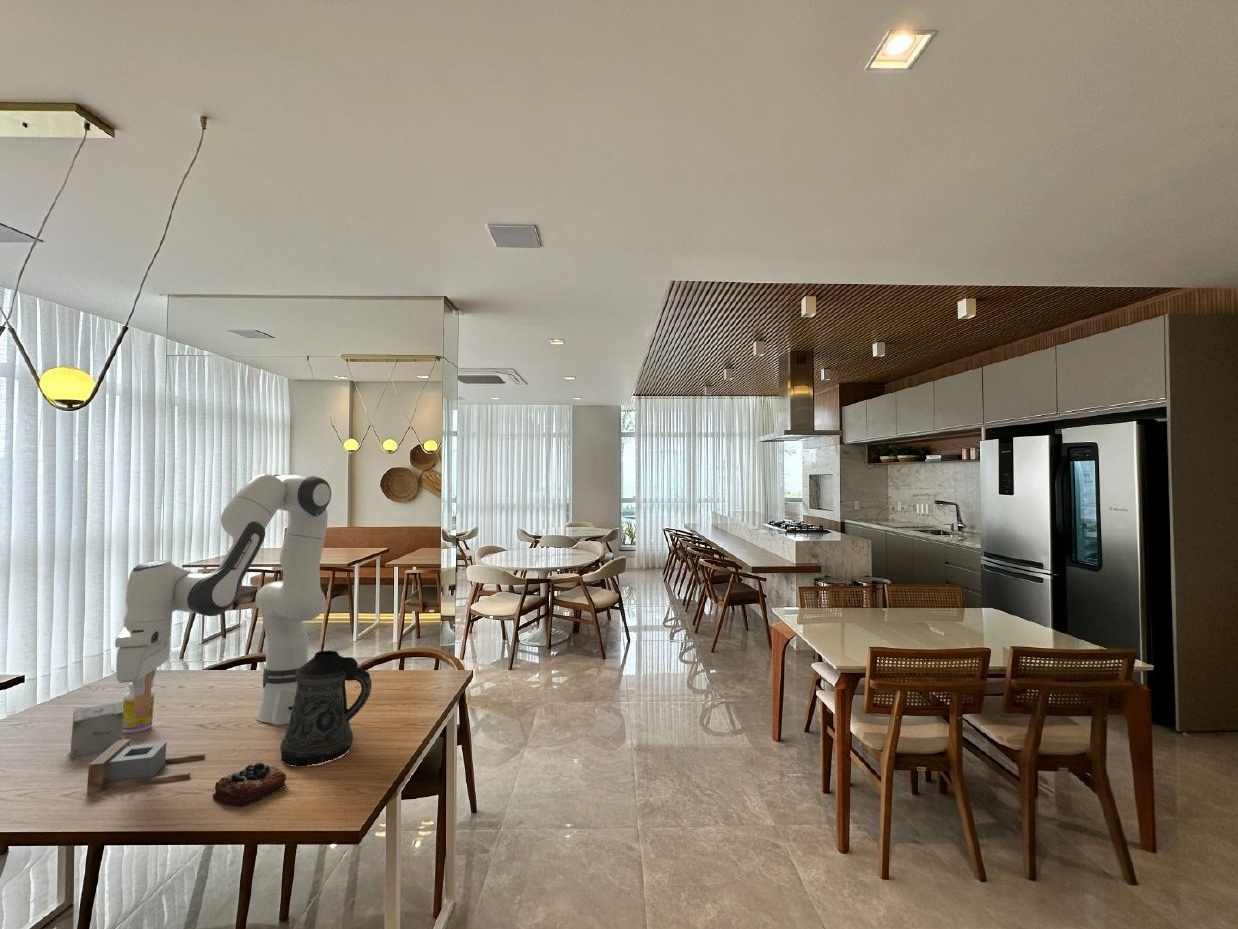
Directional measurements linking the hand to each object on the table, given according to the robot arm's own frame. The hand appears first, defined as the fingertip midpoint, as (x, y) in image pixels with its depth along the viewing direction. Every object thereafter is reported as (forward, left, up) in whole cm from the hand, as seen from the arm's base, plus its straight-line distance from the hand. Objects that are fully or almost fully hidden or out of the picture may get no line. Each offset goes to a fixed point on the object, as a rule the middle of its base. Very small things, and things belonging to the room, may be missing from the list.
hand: (143, 691), depth 137 cm
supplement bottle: (+11, -33, -19) cm, 40 cm away
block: (0, 0, -19) cm, 19 cm away
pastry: (-26, +18, -19) cm, 37 cm away
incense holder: (+15, -20, -19) cm, 32 cm away
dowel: (0, 0, -6) cm, 6 cm away
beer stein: (-39, 0, -19) cm, 43 cm away
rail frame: (-2, 0, -19) cm, 19 cm away
